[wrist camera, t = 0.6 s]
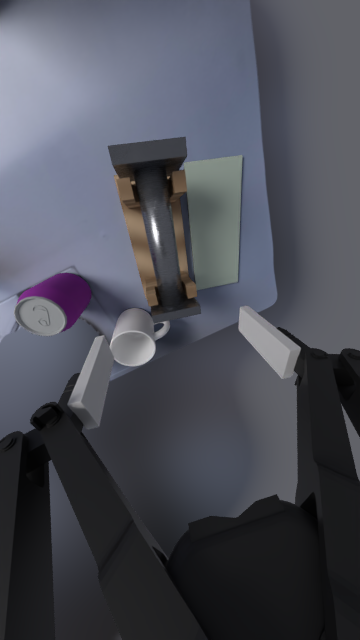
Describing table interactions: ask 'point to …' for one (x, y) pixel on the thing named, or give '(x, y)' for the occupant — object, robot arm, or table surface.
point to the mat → (214, 219)
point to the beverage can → (53, 304)
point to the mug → (135, 337)
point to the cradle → (139, 237)
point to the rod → (158, 216)
